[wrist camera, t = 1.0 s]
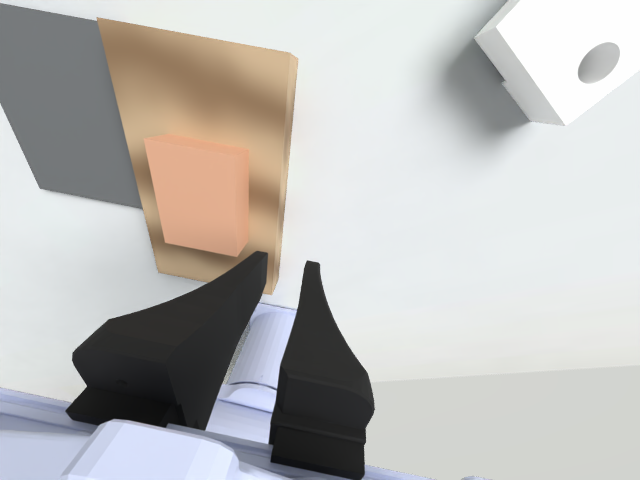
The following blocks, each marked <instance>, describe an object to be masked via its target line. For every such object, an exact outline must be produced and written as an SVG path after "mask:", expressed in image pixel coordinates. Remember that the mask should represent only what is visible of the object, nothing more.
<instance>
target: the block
mask: <svg viewBox="0 0 640 480" xmlns="http://www.w3.org/2000/svg"><path fill="white" fill-rule="evenodd" d="M144 143H145V148H146V153H147V158H148V162H149V167H150V172H151V177H152V182H153V187H154V191H155V196H156V201H157V206H158V211H159V216H160V220H161V225H162V230H163V235H164V240H165V243H169V244H174V245H179V246H184V247H189V248H194V249H199V250H204V251H209V252H214V253H219V254H224V255H229V256H234V257H237V256H238V255H239V254H240V252H241V251H242V249H243V248H244V247H245V245H246V244H247V243H248V214H249V149H246V148H241V147H235V146H230V145H225V144H220V143H214V142H209V141H204V140H199V139H193V138H188V137H183V136H178V135H173V134H165V135H160V136H154V137H149V138H144Z"/></svg>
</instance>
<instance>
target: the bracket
mask: <svg viewBox="0 0 640 480" xmlns="http://www.w3.org/2000/svg"><path fill="white" fill-rule="evenodd" d="M474 39H475V40H476V42H477V43H478V44H479V46H480V47H481V48H482V50H483V51H484V52H485V54H486V55H487V56H488V58H489V59H490V60H491V62H492V63H493V64H494V66H495V67H496V68H497V70H498V71H499V72H500V74H501V75H502V76H503V78H504V79H505V80H504V81H503V82H502V84H503V86H504V87H505V88H506V90H507V91H508V92H509V94H510V95H511V96H512V98H513V99H514V100H515V102H516V103H517V104H518V106H519V107H520V108H521V110H522V111H523V112H524V114H525V115H526V116H527V117H528V119H529V120H530V121H531V122H539V123H547V124H555V125H562V126H566V125H568V124H569V123H570V122H572V121H573V120H574V119H576V118H577V117H578V116H580V115H581V114H582V113H583V112H585V111H586V110H587V109H589V108H590V107H591V106H593V105H594V104H595V103H597V102H598V101H599V100H601V99H602V98H603V97H604V96H606V95H607V94H608V93H610V92H611V91H612V90H614V89H615V88H616V87H618V86H619V85H620V84H621V83H623V82H624V81H625V80H627V79H628V78H629V77H631V76H632V75H633V74H635V73H636V72H637V71H639V70H640V0H508V1H507V2H506V3H505V4H504V6H503V7H502V8H501V9H500V10H499V11H498V12H497V13H496V14H495V15H494V16H493V17H492V19H491V20H490V21H489V22H488V23H487V24H486V25H485V26H484V27H483V28H482V29H481V30H480V32H479V33H478V34H477V35H476V36H475V37H474Z"/></svg>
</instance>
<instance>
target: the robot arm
mask: <svg viewBox="0 0 640 480" xmlns="http://www.w3.org/2000/svg"><path fill="white" fill-rule="evenodd" d="M267 264H268V253H267V252H262V251H255V252H254V253H252V254H251V255H250V256H248V257H247V258H246V259H244V260H243V261H241V262H240V263H239V264H237V265H236V266H234V267H233V268H231V269H230V270H229V271H227V272H226V273H224V274H222V275H221V276H219V277H217V278H216V279H214V280H213V281H211V282H209V283H207V284H205V285H203V286H201V287H199V288H197V289H195V290H193V291H191V292H189V293H187V294H184V295H182V296H180V297H177V298H175V299H173V300H170V301H167V302H165V303H162V304H159V305H156V306H153V307H150V308H147V309H144V310H141V311H138V312H134V313H131V314H127V315H123V316H120V317H116V318H112V319H109V320H108V321H107V322H105V323H104V324H103V325H102V326H101V327H100V328H98V329H97V330H96V331H95V332H94V333H93V334H92V335H91V336H90V337H89V338H88V339H86V340H85V341H84V342H83V343H82V344H81V345H80V346H79V347H78V348H77V349H76V350H75V351H74V352H73V355H72V361H73V364H74V366H75V368H76V369H77V371H78V372H79V374H80V376H81V377H82V379H83V380H84V382H85V383H86V385H87V387H86V389H85V390H84V391H83V392H82V393H81V394H80V395H79V396H78V397H77V398H76V399H75V400H74V402H73V403H71V402H66V401H61V400H57V399H52V398H47V397H43V396H38V395H33V394H28V393H24V392H19V391H14V390H9V389H5V388H0V480H435V479H431V478H426V477H421V476H416V475H412V474H407V473H402V472H397V471H392V470H388V469H383V468H379V467H374V466H369V465H365V462H364V445H365V443H366V429H365V428H366V426H367V424H368V423H369V421H370V419H371V418H372V416H373V413H374V410H375V408H374V398H373V393H372V388H371V384H370V380H369V376H368V373H367V372H366V370H365V369H364V368H363V366H362V365H361V364H360V362H359V361H358V359H357V358H356V357H355V355H354V354H353V352H352V351H351V349H350V348H349V346H348V344H347V343H346V341H345V339H344V337H343V336H342V334H341V332H340V330H339V328H338V326H337V324H336V322H335V320H334V318H333V316H332V313H331V311H330V308H329V306H328V303H327V300H326V297H325V293H324V290H323V286H322V281H321V275H320V264H319V263H317V262H312V261H307V262H306V265H305V268H304V273H303V280H302V286H301V292H300V299H299V305H298V309H297V311H296V310H291V309H286V308H281V307H276V306H271V305H266V304H261V303H259V301H260V299H261V296H262V293H263V291H264V288H265V285H266V282H267ZM249 320H250V331H249V334H248V336H247V338H246V341H245V343H244V345H243V347H242V350H241V352H240V354H239V356H238V359H237V361H236V363H235V366H234V368H233V370H232V372H231V375H230V377H229V379H228V381H227V384H222V382H223V380H224V377H225V375H226V372H227V369H228V367H229V364H230V362H231V359H232V357H233V354H234V352H235V349H236V347H237V344H238V342H239V340H240V338H241V335H242V333H243V332H244V330H245V328H246V326H247V324H248V322H249ZM461 480H490V479H485V478H481V477H474V476H469V477H465V478H463V479H461Z"/></svg>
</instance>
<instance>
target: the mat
mask: <svg viewBox="0 0 640 480" xmlns="http://www.w3.org/2000/svg"><path fill="white" fill-rule="evenodd" d="M0 103H1V106H2V108H3V110H4V112H5V114H6V116H7V119H8V121H9V123H10V125H11V127H12V129H13V131H14V134H15V136H16V138H17V140H18V142H19V144H20V147H21V149H22V151H23V153H24V155H25V157H26V160H27V162H28V164H29V166H30V168H31V170H32V173H33V175H34V177H35V179H36V181H37V183H38V186H39V188H40V189H45V190H50V191H55V192H61V193H66V194H71V195H76V196H81V197H86V198H91V199H96V200H101V201H106V202H111V203H116V204H122V205H127V206H132V207H137V208H142V209H143V207H142V203H141V199H140V195H139V190H138V186H137V182H136V178H135V174H134V170H133V166H132V162H131V157H130V153H129V149H128V145H127V141H126V137H125V133H124V129H123V124H122V120H121V116H120V112H119V108H118V104H117V100H116V96H115V92H114V87H113V83H112V79H111V75H110V71H109V67H108V63H107V59H106V54H105V50H104V46H103V42H102V38H101V34H100V30H99V26H98V21H94V20H89V19H83V18H78V17H72V16H67V15H62V14H56V13H51V12H45V11H40V10H34V9H29V8H24V7H18V6H13V5H7V4H2V3H0Z"/></svg>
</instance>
